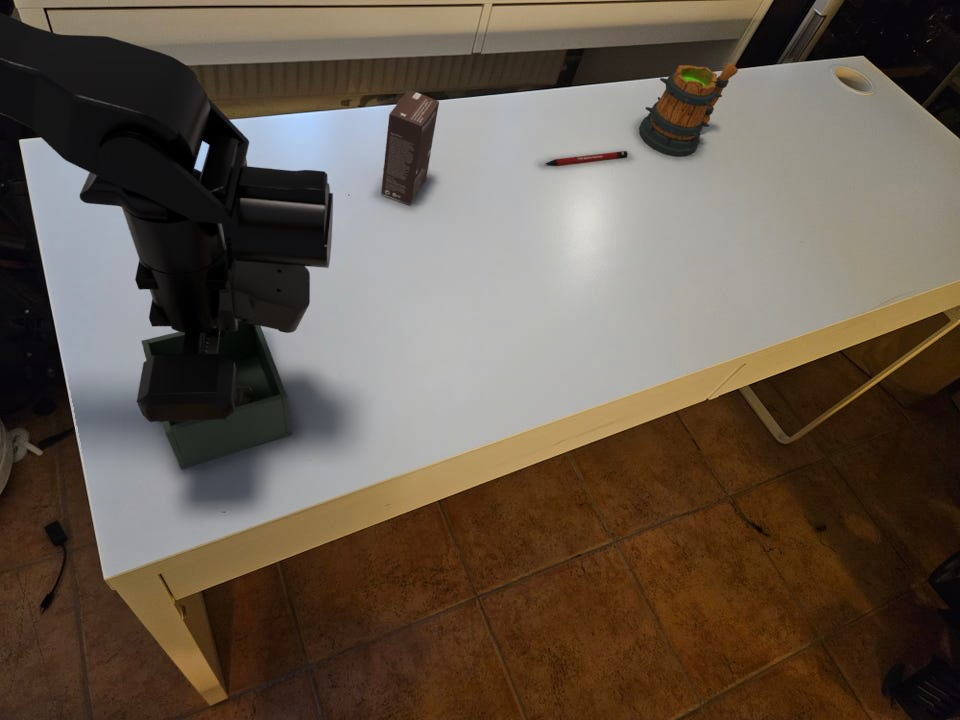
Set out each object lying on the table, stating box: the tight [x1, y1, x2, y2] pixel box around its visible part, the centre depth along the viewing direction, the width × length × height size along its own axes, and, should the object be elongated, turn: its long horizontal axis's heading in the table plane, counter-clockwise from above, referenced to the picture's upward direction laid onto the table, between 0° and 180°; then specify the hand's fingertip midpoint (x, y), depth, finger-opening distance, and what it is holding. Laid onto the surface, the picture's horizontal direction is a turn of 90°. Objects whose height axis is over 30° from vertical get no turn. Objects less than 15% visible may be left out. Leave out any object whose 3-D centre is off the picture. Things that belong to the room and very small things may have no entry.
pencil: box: [544, 150, 629, 167], centre depth 96 cm, size 1×14×1 cm, turn 112°
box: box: [380, 89, 440, 206], centre depth 81 cm, size 6×4×12 cm
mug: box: [638, 62, 739, 158], centre depth 100 cm, size 13×10×12 cm
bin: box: [140, 319, 293, 470], centre depth 60 cm, size 10×10×7 cm
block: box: [235, 381, 254, 407], centre depth 62 cm, size 4×6×2 cm, turn 99°
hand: (214, 372), depth 58 cm, fingers open, 8 cm apart
